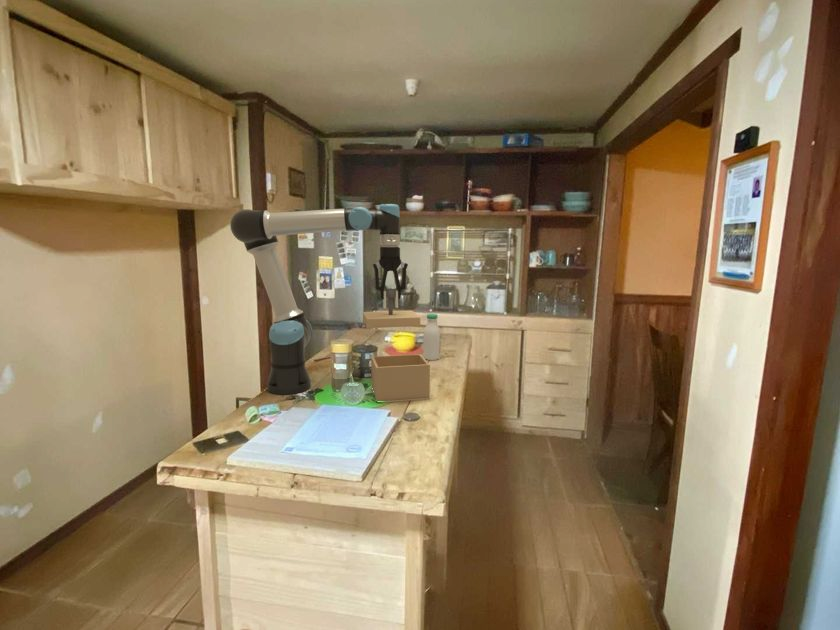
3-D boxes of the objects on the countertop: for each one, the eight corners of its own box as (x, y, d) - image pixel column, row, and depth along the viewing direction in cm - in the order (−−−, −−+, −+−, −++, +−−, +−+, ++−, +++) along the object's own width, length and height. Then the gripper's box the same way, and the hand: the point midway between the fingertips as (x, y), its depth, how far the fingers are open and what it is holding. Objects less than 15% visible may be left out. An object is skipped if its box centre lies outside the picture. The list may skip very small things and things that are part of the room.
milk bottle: (438, 361, 196) (439, 316, 192) (421, 359, 197) (421, 315, 194) (441, 356, 203) (442, 313, 200) (424, 355, 205) (425, 312, 201)
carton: (376, 402, 147) (376, 367, 144) (371, 388, 160) (371, 356, 158) (429, 399, 150) (429, 364, 148) (420, 385, 164) (420, 353, 162)
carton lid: (367, 328, 163) (366, 291, 160) (363, 320, 178) (362, 286, 176) (420, 326, 167) (420, 290, 165) (411, 318, 182) (411, 285, 180)
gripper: (368, 246, 162) (369, 310, 166) (414, 246, 166) (414, 308, 170) (366, 246, 169) (367, 306, 173) (410, 246, 173) (410, 305, 177)
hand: (390, 307), depth 172 cm, fingers closed on carton lid, 4 cm apart
